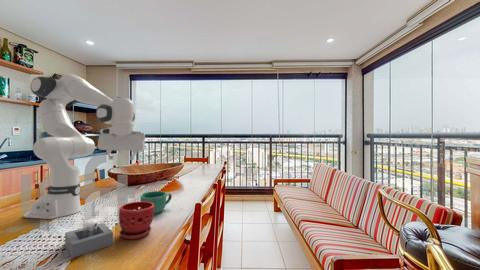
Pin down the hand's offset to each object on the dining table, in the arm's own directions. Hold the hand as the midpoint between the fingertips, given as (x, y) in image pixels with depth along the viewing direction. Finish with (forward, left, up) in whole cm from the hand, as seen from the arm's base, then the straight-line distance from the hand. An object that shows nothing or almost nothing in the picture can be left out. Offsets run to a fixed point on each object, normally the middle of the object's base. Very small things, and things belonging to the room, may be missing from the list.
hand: (121, 159), depth 98 cm
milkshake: (-1, -22, -29) cm, 37 cm away
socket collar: (-1, -22, -29) cm, 37 cm away
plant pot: (+13, -14, -29) cm, 35 cm away
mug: (+14, +12, -29) cm, 35 cm away
